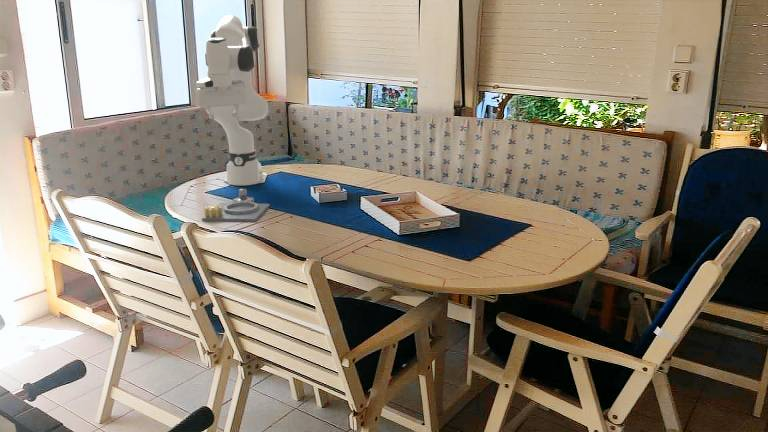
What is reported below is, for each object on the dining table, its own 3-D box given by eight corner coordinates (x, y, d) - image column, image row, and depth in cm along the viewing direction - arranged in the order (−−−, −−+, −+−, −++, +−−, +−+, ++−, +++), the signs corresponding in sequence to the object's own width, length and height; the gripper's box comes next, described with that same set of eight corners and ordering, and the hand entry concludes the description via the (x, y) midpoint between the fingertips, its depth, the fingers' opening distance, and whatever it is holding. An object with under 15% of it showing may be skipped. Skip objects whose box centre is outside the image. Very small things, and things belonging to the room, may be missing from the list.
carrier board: (220, 205, 252) (219, 195, 251) (269, 206, 250) (269, 196, 249) (201, 220, 233) (200, 210, 232) (255, 221, 231) (254, 211, 230)
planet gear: (236, 199, 260) (235, 186, 258) (256, 200, 259) (255, 187, 257) (230, 205, 252) (228, 192, 250) (250, 205, 251) (249, 192, 249)
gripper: (241, 79, 251) (243, 114, 255) (191, 82, 239) (195, 119, 243) (248, 80, 246) (251, 115, 250) (198, 83, 234) (201, 120, 238)
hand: (223, 117), depth 247 cm, fingers open, 8 cm apart
